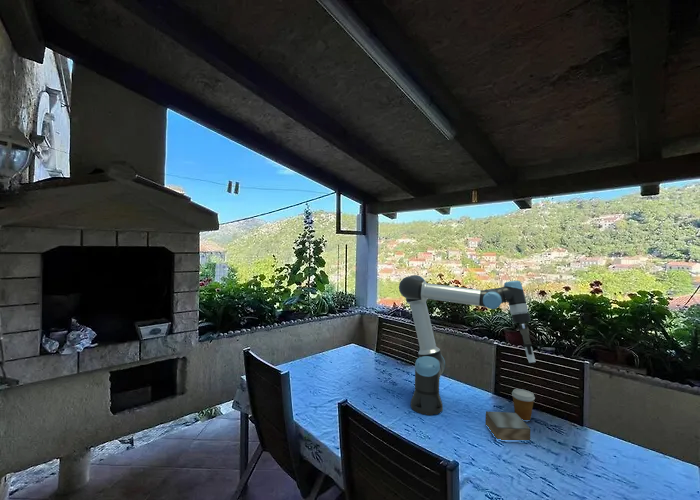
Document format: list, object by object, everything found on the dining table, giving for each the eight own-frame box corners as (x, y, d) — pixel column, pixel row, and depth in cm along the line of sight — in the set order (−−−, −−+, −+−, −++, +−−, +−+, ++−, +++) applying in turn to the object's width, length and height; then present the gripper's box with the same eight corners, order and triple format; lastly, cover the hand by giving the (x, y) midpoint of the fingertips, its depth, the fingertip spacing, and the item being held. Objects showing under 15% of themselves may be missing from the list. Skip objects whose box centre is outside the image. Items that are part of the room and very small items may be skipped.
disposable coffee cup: (522, 425, 145) (522, 398, 145) (506, 414, 154) (507, 389, 154) (539, 422, 148) (540, 396, 148) (523, 412, 157) (523, 387, 157)
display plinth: (497, 441, 132) (497, 426, 132) (485, 424, 145) (485, 411, 145) (530, 443, 131) (530, 428, 131) (515, 426, 144) (515, 412, 144)
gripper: (529, 311, 141) (543, 363, 136) (527, 313, 163) (539, 357, 157) (511, 313, 144) (523, 364, 139) (511, 315, 166) (521, 359, 160)
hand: (531, 361), depth 148 cm, fingers open, 13 cm apart
